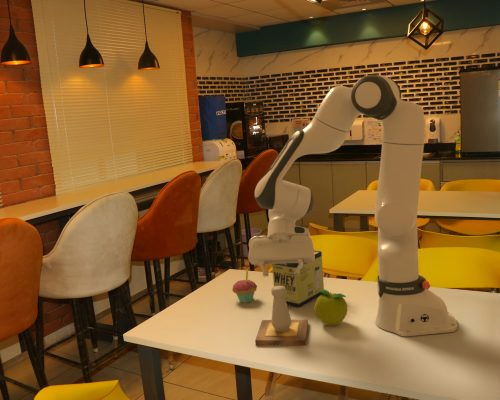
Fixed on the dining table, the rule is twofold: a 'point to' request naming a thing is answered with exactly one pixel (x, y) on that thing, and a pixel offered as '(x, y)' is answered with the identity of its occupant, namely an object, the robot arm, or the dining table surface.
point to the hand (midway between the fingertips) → (281, 275)
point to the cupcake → (245, 289)
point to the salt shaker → (280, 310)
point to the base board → (282, 334)
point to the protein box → (300, 280)
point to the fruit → (331, 308)
